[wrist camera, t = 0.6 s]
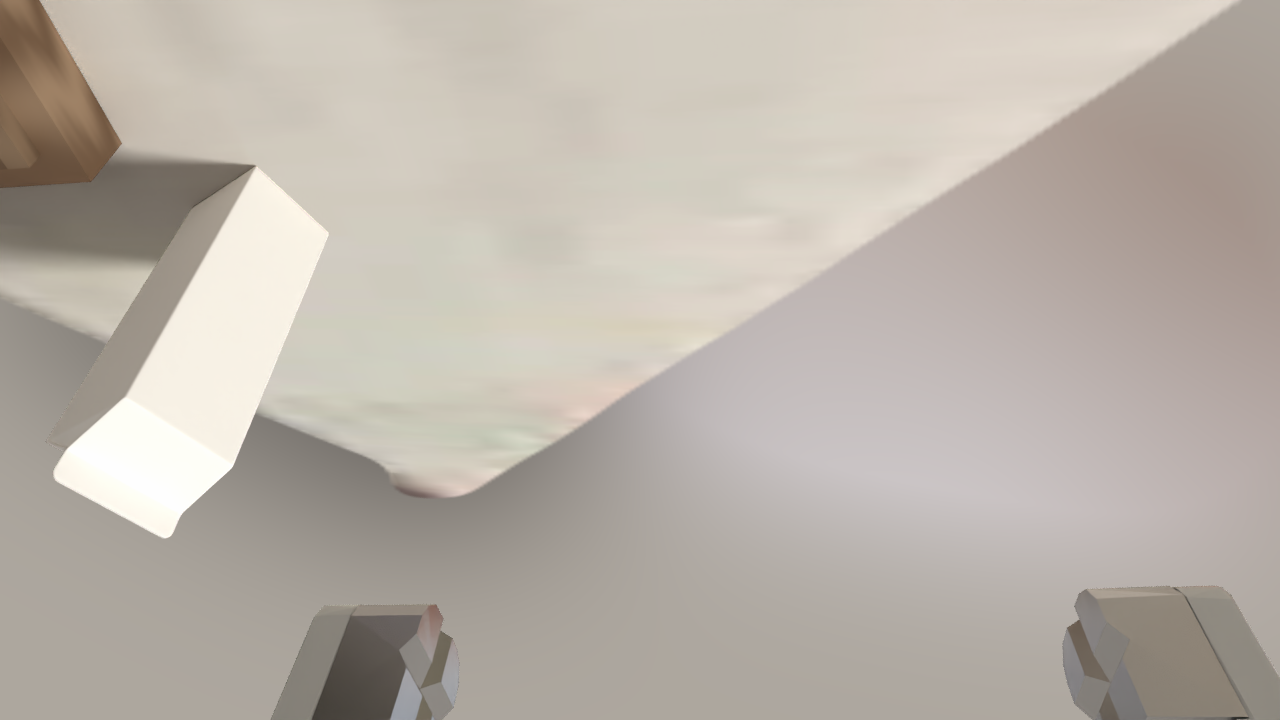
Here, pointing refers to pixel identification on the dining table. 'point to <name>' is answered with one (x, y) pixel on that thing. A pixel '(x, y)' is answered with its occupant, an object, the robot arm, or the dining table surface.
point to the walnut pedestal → (46, 105)
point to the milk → (190, 357)
